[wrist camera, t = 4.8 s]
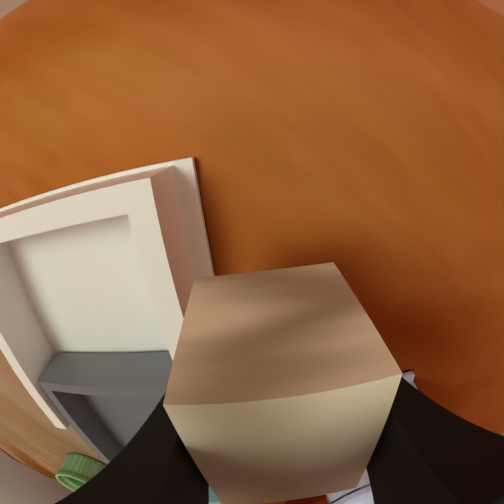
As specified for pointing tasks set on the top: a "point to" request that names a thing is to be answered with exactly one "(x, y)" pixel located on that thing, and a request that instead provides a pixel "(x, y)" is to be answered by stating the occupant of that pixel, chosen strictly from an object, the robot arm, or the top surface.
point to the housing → (100, 268)
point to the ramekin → (78, 470)
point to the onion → (300, 501)
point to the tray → (108, 395)
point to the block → (279, 384)
